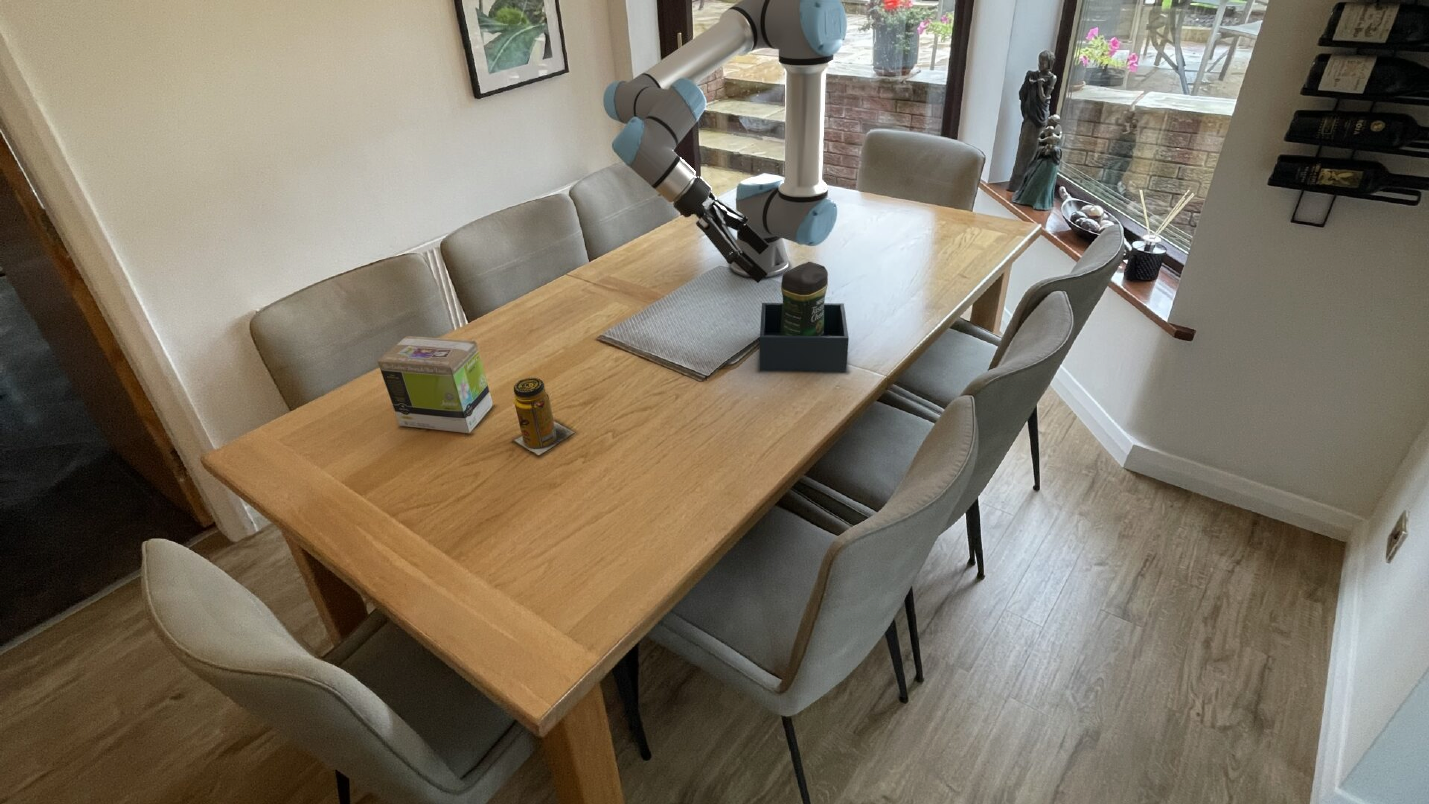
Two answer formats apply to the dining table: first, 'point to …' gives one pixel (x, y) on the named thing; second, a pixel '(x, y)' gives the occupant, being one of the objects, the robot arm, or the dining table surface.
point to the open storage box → (804, 343)
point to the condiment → (536, 417)
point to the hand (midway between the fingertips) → (763, 263)
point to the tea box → (436, 383)
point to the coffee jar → (804, 300)
